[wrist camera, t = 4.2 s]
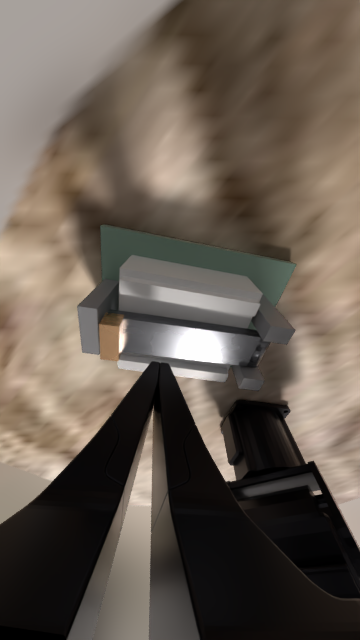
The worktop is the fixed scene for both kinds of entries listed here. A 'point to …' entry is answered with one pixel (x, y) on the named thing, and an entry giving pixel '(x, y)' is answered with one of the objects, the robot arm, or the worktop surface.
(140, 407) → the robot arm
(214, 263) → the heatsink board
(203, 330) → the grey and brown bar
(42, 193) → the worktop surface
